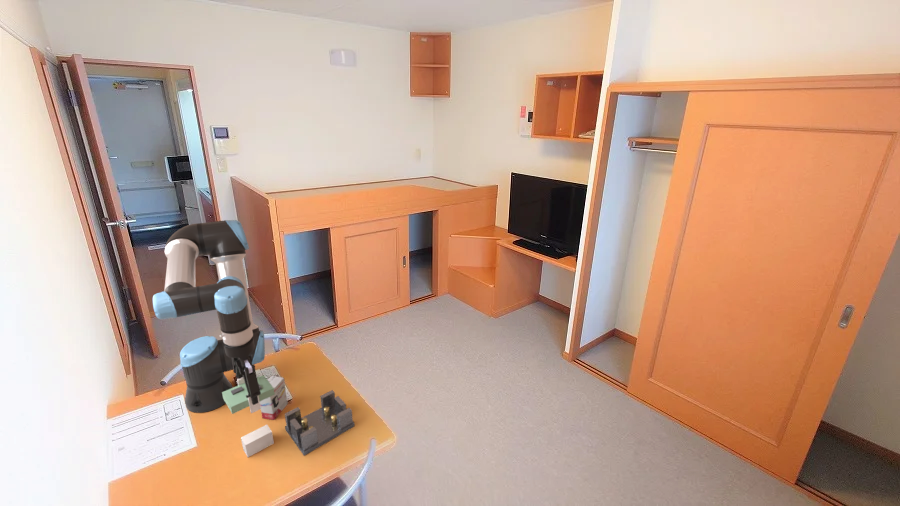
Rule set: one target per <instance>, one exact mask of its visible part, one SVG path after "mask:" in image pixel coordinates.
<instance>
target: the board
mask: <svg viewBox="0 0 900 506" xmlns="http://www.w3.org/2000/svg"><path fill="white" fill-rule="evenodd" d="M257 381H258V385H259V389H260V392H261V394H260V395H259V401H262V400H264V399H266V398H268V397H270V396H273V395H275V393H274V388H273V387H272V385H271V384H270V383H269V381H268V378H266V376H265V374H262V375H260V376H257ZM247 394H248V391H247V388H246V385H245V383H243V384H241V385H238V384H237V385H236V386H232V388H231V389H229V390H226V391H224V392H222V395H223V399H224V401H225V402H226V403H225V405H226V406H227V407H228V409H229V411H230V413H231V415H234V414H236V413H238V412H241V411H243V410H244V409H247V408H248V407H249V401H248V398H246V395H247ZM249 408H250V407H249Z"/></svg>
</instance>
